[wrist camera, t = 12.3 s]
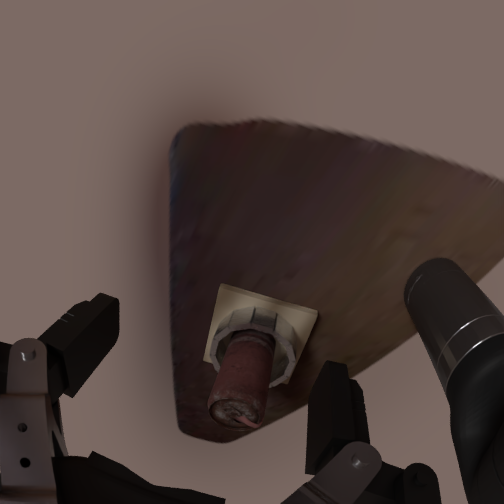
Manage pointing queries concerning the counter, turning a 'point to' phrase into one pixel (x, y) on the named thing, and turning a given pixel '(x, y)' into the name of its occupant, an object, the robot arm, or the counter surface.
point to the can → (243, 381)
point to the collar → (264, 323)
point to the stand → (240, 298)
